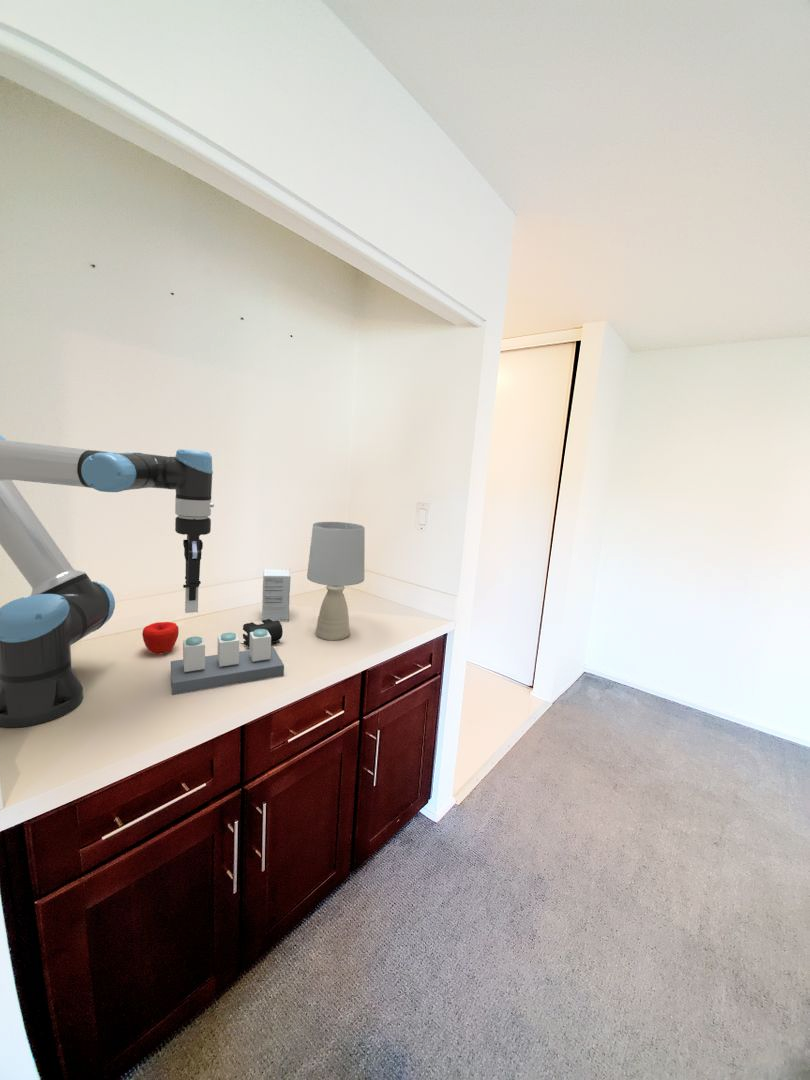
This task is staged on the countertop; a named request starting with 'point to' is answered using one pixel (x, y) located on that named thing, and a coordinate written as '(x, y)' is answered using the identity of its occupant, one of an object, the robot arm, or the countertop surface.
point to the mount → (224, 672)
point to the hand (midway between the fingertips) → (191, 611)
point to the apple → (160, 637)
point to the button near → (193, 654)
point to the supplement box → (276, 594)
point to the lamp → (335, 572)
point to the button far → (260, 645)
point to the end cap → (271, 626)
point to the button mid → (228, 649)
